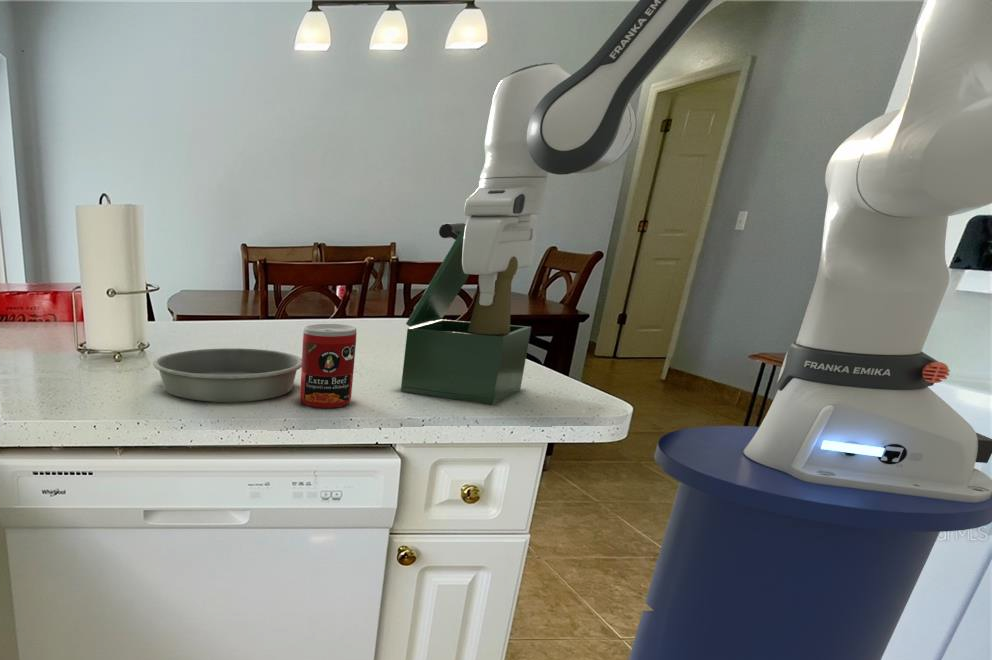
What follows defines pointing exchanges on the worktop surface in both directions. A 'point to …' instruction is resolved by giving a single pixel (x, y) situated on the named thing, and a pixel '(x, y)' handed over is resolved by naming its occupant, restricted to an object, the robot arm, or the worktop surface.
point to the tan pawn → (495, 306)
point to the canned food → (327, 365)
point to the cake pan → (228, 374)
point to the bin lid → (443, 280)
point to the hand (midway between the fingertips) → (493, 303)
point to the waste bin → (464, 361)
